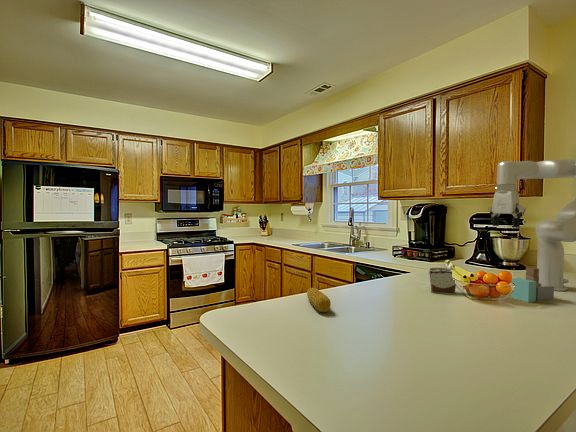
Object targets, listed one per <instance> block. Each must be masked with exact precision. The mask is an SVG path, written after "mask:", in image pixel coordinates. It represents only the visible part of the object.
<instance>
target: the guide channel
mask: <svg viewBox="0 0 576 432" xmlns="http://www.w3.org/2000/svg"><path fill="white" fill-rule="evenodd" d="M554 294H555V290H554V286H542V287H541V283H539V287H536V301H537V302H538V301H548V300H549V301H550V300H555V299H554V298H555V295H554Z"/></svg>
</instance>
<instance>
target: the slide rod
mask: <svg viewBox="0 0 576 432" xmlns="http://www.w3.org/2000/svg"><path fill="white" fill-rule="evenodd" d="M525 279H527V280H531V281H536V287H539V269H538V268H537V267H532V266H530V267H525Z"/></svg>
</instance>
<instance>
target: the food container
mask: <svg viewBox="0 0 576 432" xmlns="http://www.w3.org/2000/svg"><path fill="white" fill-rule="evenodd" d="M428 269H429V270H428V271H427V272H428V273H427V274H428V275H429V280H430V281H429V282H430V290H431V291H430V292H431V294H444V295H445V294H448V295H450V294H451V295H452V294H453V295H455V293H456V288H457V287H456V286H457V283H456V284H455V280H453V278H452V271H451V269H452V268H449V267H448V268H447V267H429V268H428Z"/></svg>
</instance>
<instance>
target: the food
mask: <svg viewBox="0 0 576 432" xmlns="http://www.w3.org/2000/svg"><path fill="white" fill-rule="evenodd" d="M306 293H307V294H306V295H307V299H308V300H309V303H311V305H312V306H313V307H314V308H315V309H316V310H317V311H318V312H321V313H326V312H328V311H330V309H331V306H332V305H331V299H330V298H329V297H328V296H327V295H326V294H324V293H323V292H322V291H320V290H319V289H318V288H316V287H309V288H308V289H307V292H306Z"/></svg>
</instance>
